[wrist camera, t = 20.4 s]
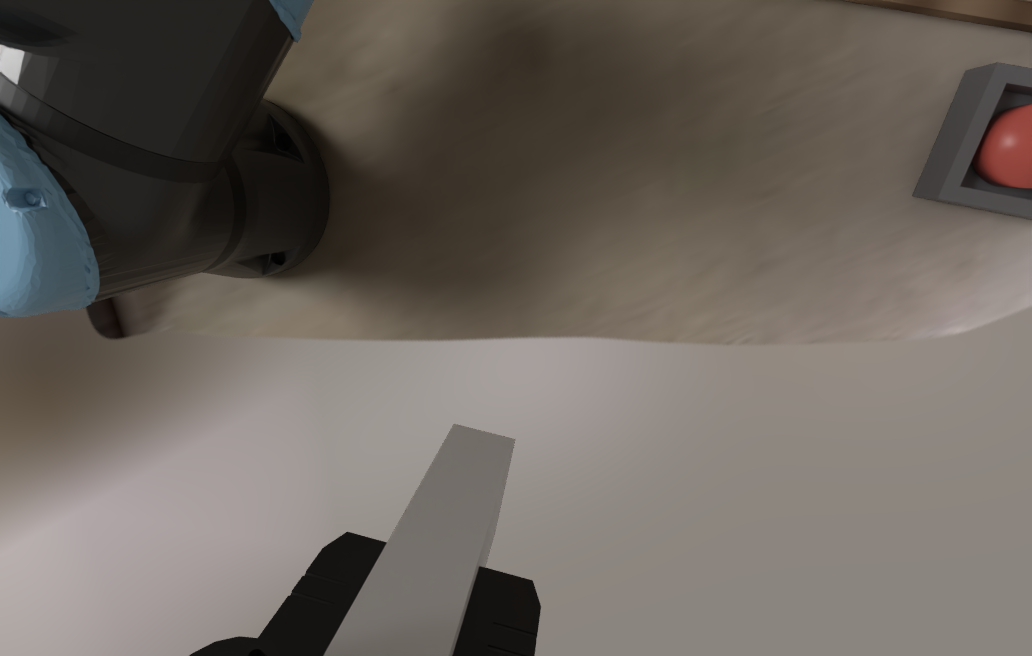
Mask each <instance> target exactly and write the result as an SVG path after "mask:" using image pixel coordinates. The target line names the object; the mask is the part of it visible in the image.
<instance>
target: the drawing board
mask: <svg viewBox="0 0 1032 656" xmlns="http://www.w3.org/2000/svg"><path fill="white" fill-rule="evenodd" d="M842 1H848V2H854V3H860V4H866V5H872V6H878V7H884V8H890V9H896V10H902V11H908V12H914V13H920V14H926V15H931V16H937V17H943V18H949V19H955V20H961V21H967V22H973V23H979V24H985V25H991V26H997V27H1003V28H1009V29H1015V30H1021V31H1027V32H1032V0H842Z"/></svg>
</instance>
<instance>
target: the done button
mask: <svg viewBox="0 0 1032 656" xmlns="http://www.w3.org/2000/svg"><path fill="white" fill-rule="evenodd" d="M972 162H973V166H974V169H975V171H976V172H977V174H978V175H979V176H980V178H982V179H983V180H984V181H986V182H987V183H989V184H992V185H995V186H1000V187H1015V188H1032V104H1027V105H1020V106H1015V107H1012V108H1009V109H1007V110H1005V111H1003V112H1001V113H999V114H997V115H996V116H995V117H993V118H992V119H991V120H990V121H989V123H988V125H987V127H986V130H985V132H984V134H983V136H982V138H981V141H980V143H979V145H978V147H977V150H976V152H975V154H974V156H973V158H972Z"/></svg>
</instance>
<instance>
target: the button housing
mask: <svg viewBox="0 0 1032 656" xmlns="http://www.w3.org/2000/svg"><path fill="white" fill-rule="evenodd" d="M1027 104H1032V68H1027V67H1021V66H1015V65H1009V64H1004V63H994V64H990V65H986V66H982V67H978V68H974V69H970V70H967V71H965V74H964V76H963V78H962V81H961V83H960V85H959V88H958V90H957V92H956V95H955V97H954V99H953V102H952V104H951V106H950V109H949V111H948V113H947V116H946V118H945V121H944V123H943V125H942V128H941V130H940V132H939V135H938V137H937V139H936V142H935V144H934V146H933V149H932V151H931V153H930V156H929V158H928V160H927V163H926V165H925V168H924V170H923V172H922V175H921V177H920V179H919V182H918V184H917V186H916V189H915V191H914V193H913V196H914V197H919V198H924V199H929V200H935V201H940V202H945V203H950V204H955V205H960V206H965V207H970V208H975V209H980V210H985V211H990V212H995V213H1001V214H1006V215H1011V216H1016V217H1021V218H1026V219H1031V220H1032V188H1015V187H1000V186H995V185H992V184H989V183H987V182H986V181H984V180H983V179H982V178H980V176H979V175H978V174H977V172H976V171H975V169H974V166H973V162H972V158H973V156H974V154H975V152H976V150H977V147H978V145H979V143H980V141H981V138H982V136H983V134H984V132H985V130H986V127H987V125H988V123H989V121H990V120H991V119H992V118H993V117H995V116H996V115H997V114H999V113H1001V112H1003V111H1005V110H1007V109H1009V108H1012V107H1015V106H1020V105H1027Z"/></svg>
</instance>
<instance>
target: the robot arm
mask: <svg viewBox="0 0 1032 656" xmlns="http://www.w3.org/2000/svg"><path fill="white" fill-rule="evenodd" d="M313 1H314V0H0V316H2V317H8V316H10V317H26V316H33V315H37V314H42V313H47V312H53V311H58V310H77V309H81V308H84V307H86V306H87V305H91V303H93V302H96V301H100V300H103V299H107V298H110V297H114V296H117V295H121V294H124V293H128V292H132V291H135V290H139V289H142V288H146V287H149V286H153V285H157V284H160V283H164V282H168V281H171V280H175V279H179V278H182V277H186V276H190V275H193V274H196V273H200V272H203V273H209V274H216V275H222V276H229V277H235V278H260V277H265V276H269V275H272V274H275V273H278V272H281V271H284V270H287V269H289V268H291V267H293V266H295V265H297V264H298V263H300V262H301V261H302V260H304V259H305V258H306V257H307V256H308V255H309V254H310V253H311V252H312V250H313V249H314V248H315V247H316V245H317V243H318V242H319V240H320V238H321V236H322V234H323V232H324V229H325V226H326V222H327V218H328V212H329V186H328V180H327V176H326V172H325V168H324V165H323V162H322V160H321V157H320V155H319V153H318V151H317V149H316V147H315V145H314V144H313V142H312V140H311V139H310V137H309V136H308V134H307V133H306V132H305V131H304V129H303V128H302V127H301V126H300V125H299V124H298V123H297V122H296V121H295V120H294V119H293V118H292V117H291V116H290V115H289V114H287V113H286V112H285V111H283V110H282V109H281V108H279V107H277V106H276V105H274V104H272V103H270V102H268V101H266V100H263V99H262V98H263V96H264V94H265V92H266V91H267V89H268V87H269V85H270V83H271V82H272V80H273V78H274V76H275V75H276V73H277V71H278V69H279V67H280V66H281V64H282V62H283V60H284V58H285V57H286V55H287V53H288V51H289V50H290V48H291V46H292V44H293V42H294V41H295V42H297V43H298V41H299V39H300V38H301V31H300V28H301V26H302V23H303V21H304V19H305V17H306V15H307V13H308V11H309V9H310V7H311V5H312V3H313ZM514 443H515V439H512V438H508V437H505V436H500V435H496V434H492V433H489V432H485V431H481V430H476V429H473V428H469V427H465V426H461V425H456V424H454V425H453V426H452V428H451V430H450V432H449V433H448V435H447V437H446V439H445V441H444V443H443V444H442V446H441V448H440V449H439V451H438V453H437V455H436V457H435V459H434V460H433V462H432V464H431V466H430V467H429V469H428V471H427V473H426V474H425V476H424V478H423V480H422V481H421V483H420V485H419V487H418V489H417V490H416V492H415V494H414V496H413V498H412V499H411V501H410V503H409V505H408V506H407V508H406V510H405V512H404V513H403V515H402V517H401V519H400V521H399V522H398V524H397V526H396V528H395V529H394V531H393V533H392V535H391V537H390V538H389V540H388V542H383V541H379V540H376V539H372V538H368V537H365V536H361V535H357V534H354V533H350V532H346V533H345V534H343V535H342V536H340V537H339V538H337V539H336V540H334V541H333V542H331V543H330V544H328V545H327V546H325V547H324V548H323V549H322V550H321V552H320V553H319V554H318V555H317V557H316V558H315V560H314V561H313V562H312V564H311V565H310V567H309V568H308V569H307V571H306V574H305V576H302V578H301V579H300V580H299V582H298V583H297V584H296V586H295V587H294V589H293V590H292V593H291V595H290V596H288V597H287V598H286V600H285V601H284V603H283V604H282V605H281V607H280V608H279V609H278V611H277V612H276V614H275V615H274V616H273V618H272V619H271V620H270V622H269V623H268V625H267V626H266V627H265V629H264V630H263V632H262V633H261V634H260V636H259V637H258V638H249V637H234V638H230V639H226V640H221V641H216V642H214V643H212V644H210V645H208V646H206V647H204V648H202V649H200V650H198V651H196V652H194V653H192V654H191V655H190V656H534V654H535V647H536V638H537V632H538V625H539V617H540V609H541V606H540V602H539V599H538V596H537V593H536V590H535V587H534V583H533V581H532V580H529V579H525V578H521V577H518V576H514V575H510V574H507V573H503V572H499V571H496V570H492V569H488V568H485V566H486V563H487V559H488V556H489V552H490V549H491V545H492V542H493V538H494V535H495V531H496V526H497V521H498V517H499V512H500V508H501V503H502V498H503V494H504V489H505V484H506V480H507V475H508V471H509V466H510V461H511V457H512V453H513V448H514Z"/></svg>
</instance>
